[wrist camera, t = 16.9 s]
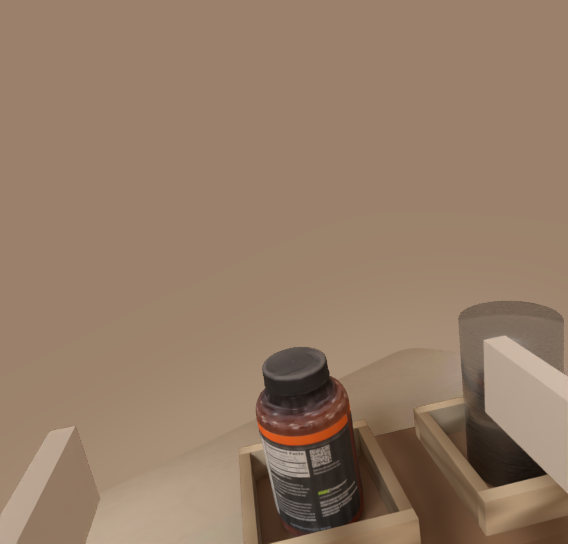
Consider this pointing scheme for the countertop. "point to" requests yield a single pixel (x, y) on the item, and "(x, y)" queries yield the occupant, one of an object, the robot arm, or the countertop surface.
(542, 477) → the wooden divided tray
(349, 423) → the supplement bottle
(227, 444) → the countertop surface
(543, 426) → the robot arm
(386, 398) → the countertop surface
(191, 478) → the countertop surface
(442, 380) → the countertop surface
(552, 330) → the billet
